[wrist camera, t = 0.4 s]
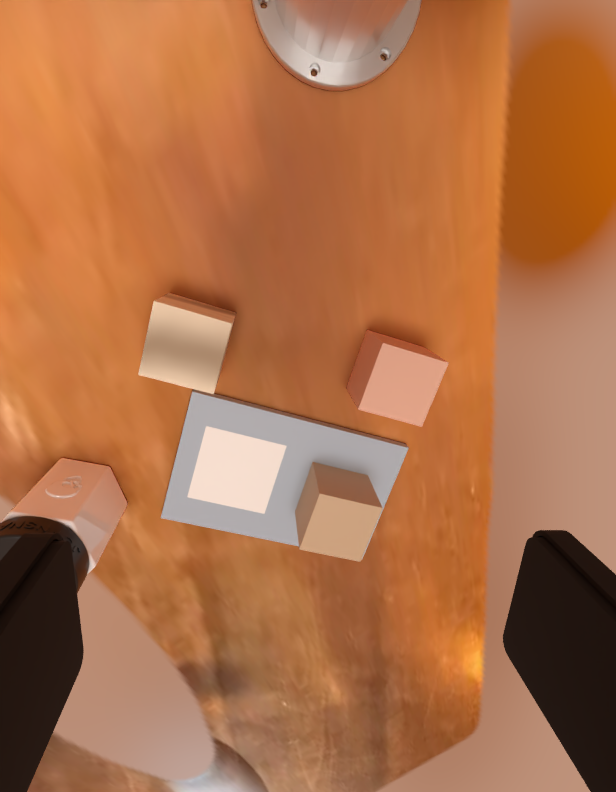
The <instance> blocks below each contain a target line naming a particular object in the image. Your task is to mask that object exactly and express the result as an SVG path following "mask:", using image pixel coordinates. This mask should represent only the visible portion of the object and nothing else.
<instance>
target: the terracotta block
mask: <svg viewBox="0 0 616 792" xmlns="http://www.w3.org/2000/svg"><path fill="white" fill-rule="evenodd" d="M447 366H448V362H446V361H445V360H443V359H442V358H440V357H439V356H437V355H436V354H434V353H433V352H431V351H429V350H428V349H426V348H425V347H422V346H419V345H415V344H412V343H409V342H406V341H402V340H399V339H396V338H393V337H390V336H386V335H383V334H380V333H377V332H373V331H370V330H367V331H366V334H365V337H364V339H363V342H362V345H361V348H360V351H359V353H358V356H357V359H356V362H355V365H354V367H353V370H352V373H351V376H350V379H349V381H348V384H347V387H346V389H347V390H348V392H349V394H350V396H351V398H352V399H353V401H354V403H355V405H356V406H357V408H358V410H362V411H366V412H369V413H373V414H377V415H380V416H384V417H388V418H392V419H395V420H399V421H403V422H406V423H410V424H414V425H417V426H421V427H422V425H423V423H424V420H425V418H426V416H427V413H428V411H429V408H430V406H431V404H432V401H433V399H434V397H435V394H436V392H437V389H438V387H439V385H440V382H441V380H442V378H443V375H444V373H445V370H446V368H447Z"/></svg>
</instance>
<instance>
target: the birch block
mask: <svg viewBox="0 0 616 792" xmlns="http://www.w3.org/2000/svg"><path fill="white" fill-rule="evenodd" d="M235 316H236V312H233V311H229V310H226V309H223V308H219V307H216V306H213V305H209V304H206V303H203V302H199V301H196V300H192V299H189V298H186V297H182V296H179V295H176V294H172V293H168V294H166V295H164V296H162V297H160V298H158V299H156V300H154V302H153V307H152V312H151V317H150V321H149V326H148V331H147V336H146V340H145V345H144V350H143V355H142V359H141V364H140V369H139V374H138V375H142V376H145V377H149V378H153V379H157V380H161V381H165V382H168V383H172V384H176V385H180V386H184V387H187V388H191V389H195V390H199V391H203V392H207V393H210V394H214V391H215V388H216V385H217V382H218V379H219V376H220V373H221V369H222V365H223V361H224V358H225V354H226V350H227V346H228V343H229V339H230V335H231V331H232V328H233V324H234V320H235Z"/></svg>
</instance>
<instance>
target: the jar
mask: <svg viewBox="0 0 616 792" xmlns="http://www.w3.org/2000/svg"><path fill="white" fill-rule="evenodd" d="M127 505H128V503H127V501H126V499H125V497H124V495H123V493H122V491H121V488H120V486H119V484H118V482H117V480H116V478H115V476H114V474H113V472H112V470H111V468H110V467H109V466H105V465H99V464H94V463H88V462H83V461H77V460H72V459H66V458H61V459H59V460H58V461H57V462H56V463H55V465H54V466H53V467H52V468H51V469H50V470H49V471H48V472H47V473H46V474H45V475H44V476H43V477H42V478H41V479H40V480H39V481H38V482H37V484H36V485H35V486H34V487H33V488H32V489H31V490H30V491H29V492H28V493H27V494H26V495H25V496H24V497H23V498H22V499H21V500H20V501H19V503H18V504H17V505H16V506H15V507H14V508H13V509H12V510H11V511H10V512H9V513H8V514H7V515H6V516H5V518H4V519H3V520H2V521H1V522H0V561H1V559H2V558H3V557H4V556H5V555H6V553H7V552H8V551H9V550H10V549H11V548H12V546H13V545H14V544H15V543H16V542H17V541H18V539H19V538H20V537H21V536H22V535H23V534H26V533H58V534H60V536H61V537H62V541H69V542H70V544H71V547H72V556H73V564H74V573H75V581H76V590H77V593H78V591H79V589H80V587H81V585H82V583H83V581H84V580H85V577H86V576H87V574H88V573H89V572H90V571H91V570H92V569H93V568H94V567H95V566H96V565H97V563H98V561H99V559H100V557H101V555H102V553H103V551H104V549H105V547H106V545H107V543H108V542H109V540H110V538H111V536H112V534H113V532H114V530H115V528H116V526H117V524H118V522H119V520H120V519H121V517H122V515H123V513H124V511H125V509H126V507H127Z"/></svg>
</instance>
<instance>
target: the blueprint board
mask: <svg viewBox="0 0 616 792" xmlns="http://www.w3.org/2000/svg"><path fill="white" fill-rule="evenodd" d="M407 451H408V446H407V445H406V444H405V443H401V442H397V441H393V440H389V439H386V438H382V437H378V436H374V435H370V434H367V433H363V432H359V431H355V430H351V429H347V428H344V427H340V426H336V425H332V424H328V423H325V422H321V421H317V420H313V419H309V418H305V417H302V416H298V415H294V414H290V413H286V412H283V411H279V410H275V409H271V408H267V407H264V406H260V405H256V404H252V403H248V402H244V401H241V400H237V399H233V398H229V397H225V396H222V395H218V394H210V393H207V392H203V391H199V390H195V389H193V391H192V395H191V399H190V403H189V407H188V411H187V415H186V419H185V423H184V427H183V431H182V435H181V439H180V443H179V447H178V451H177V455H176V459H175V463H174V467H173V471H172V475H171V479H170V483H169V487H168V491H167V495H166V499H165V503H164V507H163V511H162V515H161V518H164V519H168V520H173V521H178V522H183V523H188V524H193V525H198V526H203V527H207V528H212V529H217V530H222V531H227V532H232V533H237V534H241V535H246V536H251V537H256V538H261V539H266V540H271V541H276V542H280V543H285V544H290V545H295V546H299V549H300V550H305V551H310V552H315V553H320V554H325V555H329V556H334V557H339V558H344V559H349V560H354V561H359V562H360V561H361V559H362V558H363V556H364V554H365V551H366V549H367V546H368V544H369V542H370V539H371V537H372V534H373V532H374V530H375V527H376V525H377V522H378V520H379V518H380V515H381V513H382V511H383V508H384V506H385V503H386V501H387V499H388V496H389V494H390V491H391V489H392V487H393V484H394V482H395V479H396V477H397V475H398V472H399V470H400V468H401V465H402V463H403V460H404V458H405V456H406V453H407Z"/></svg>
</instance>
